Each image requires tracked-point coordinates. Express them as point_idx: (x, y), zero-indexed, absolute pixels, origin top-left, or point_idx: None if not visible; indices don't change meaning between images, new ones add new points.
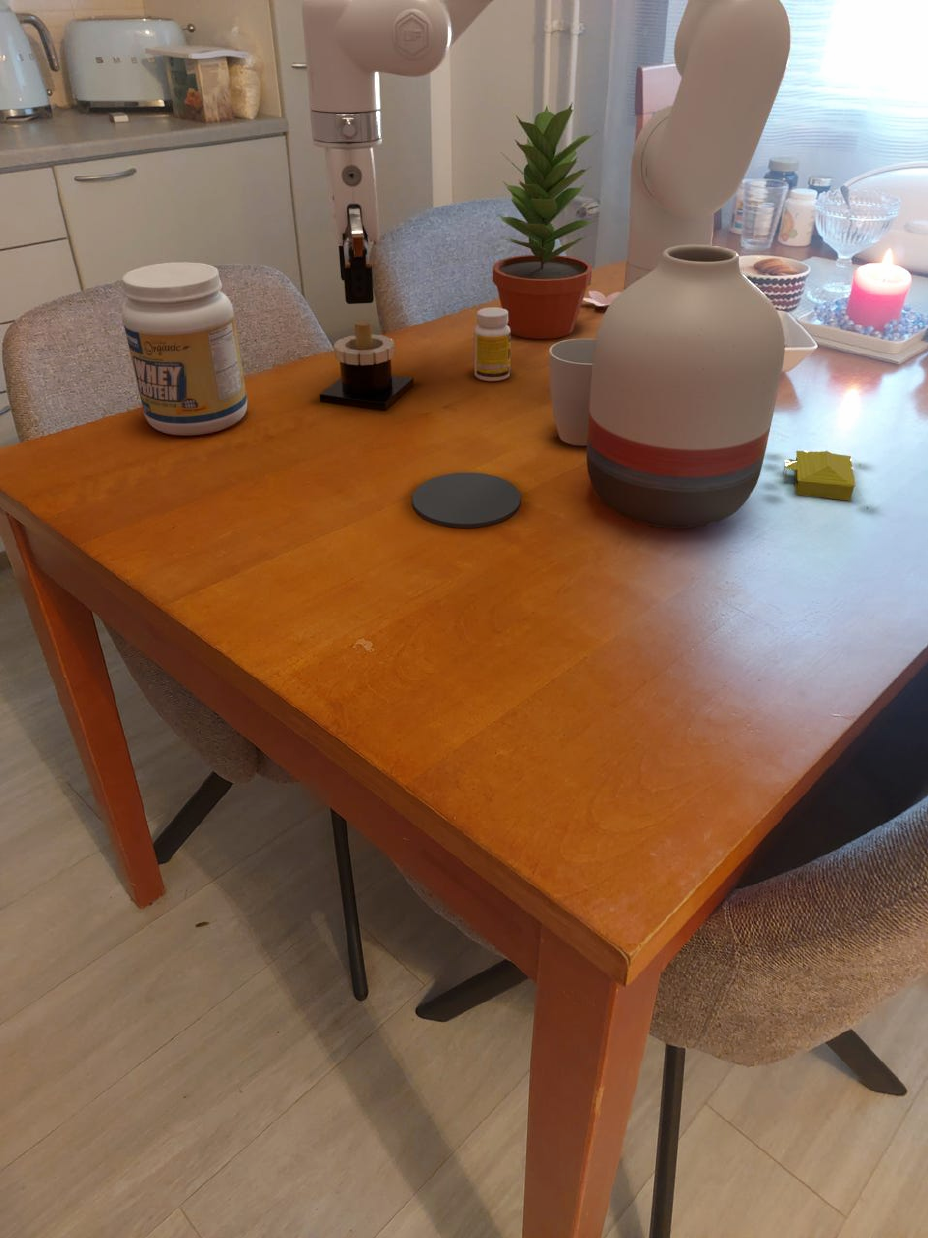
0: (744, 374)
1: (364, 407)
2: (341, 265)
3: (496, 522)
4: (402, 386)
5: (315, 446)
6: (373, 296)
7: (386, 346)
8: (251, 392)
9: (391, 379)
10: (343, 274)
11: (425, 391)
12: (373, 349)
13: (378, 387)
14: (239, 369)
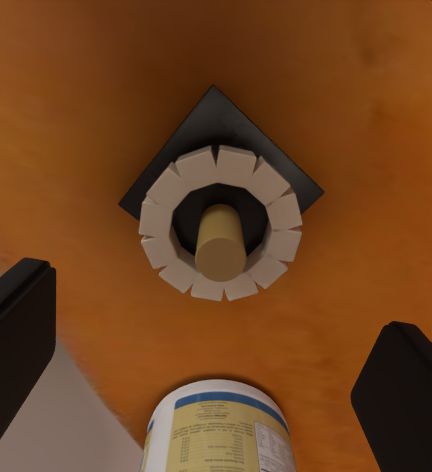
0: None
1: None
2: (22, 403)
3: None
4: (256, 129)
5: (391, 320)
6: (424, 335)
7: (268, 185)
8: (144, 358)
9: None
10: (45, 365)
11: (259, 70)
12: (274, 223)
13: None
14: (255, 451)
